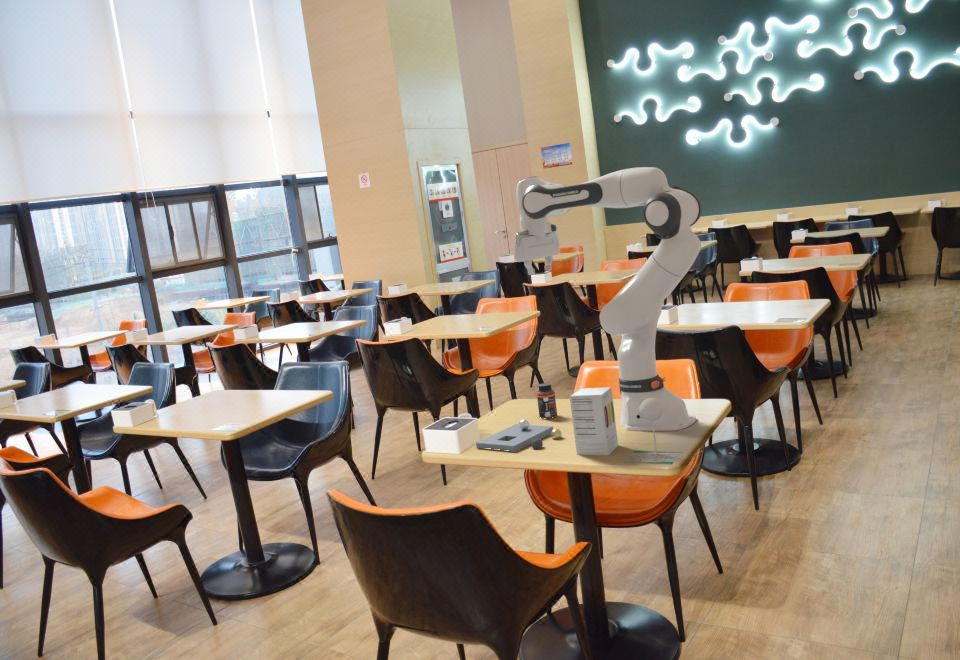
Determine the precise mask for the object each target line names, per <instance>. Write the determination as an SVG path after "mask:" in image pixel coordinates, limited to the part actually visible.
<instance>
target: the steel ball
mask: <svg viewBox="0 0 960 660" xmlns="http://www.w3.org/2000/svg"><path fill="white" fill-rule="evenodd" d="M518 424H519V427H520V429H522V430H526V429H528V428H529V425H530V422H529V421H528V420H527V419H521V420H520V421H519V423H518Z"/></svg>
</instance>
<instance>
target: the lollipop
mask: <svg viewBox="0 0 960 660" xmlns="http://www.w3.org/2000/svg"><path fill="white" fill-rule="evenodd" d="M639 411H640V413H641V415H642V417H643V418H644V419H646V420H648V421H652V428H653V431H652V437H653V444H654V445H653V447H654V453H655V455H657V454H658V448H657V441H656V439H657V438H656V431H655V430H654V421H655V420H657V419H659V418H660V417H661V415H662V413H663V406H662V404H661V403H660V402H659V401H658V400H657V399H654V398H648V399H646V400H644V401H643V402H642V403H641V405H640V408H639Z"/></svg>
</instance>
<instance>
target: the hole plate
mask: <svg viewBox="0 0 960 660" xmlns="http://www.w3.org/2000/svg"><path fill="white" fill-rule="evenodd" d="M552 430H554V426H552V425H549V426H548V425H535V424H529V428H528V429H526V430H522V429H520V427H519V423H518V424H517V423H515V424H513V425H511V426H509V427H507V428H505V429H502V430H499V432H496V433H494V434H492V435H490V436H488V437H485V438H484V439H481V440H479V441H478V442H476V443H475V445H476V449H477V448H491V449H500V450H509V451H517V450H519V449H521V448H523V447H525V448H527V447H529V446H531V445H532V441H533V440H534V439H541V440H543V439H544V437H545V438H547V437H549V436H551V435H550V434H551V432H552ZM548 435H549V436H548ZM546 436H547V437H546ZM542 438H543V439H542ZM530 444H531V445H530ZM528 445H529V446H528ZM526 446H527V447H526ZM523 449H524V448H523ZM521 450H522V449H521ZM519 451H520V450H519ZM517 452H518V451H517Z"/></svg>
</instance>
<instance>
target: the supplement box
mask: <svg viewBox="0 0 960 660" xmlns="http://www.w3.org/2000/svg"><path fill="white" fill-rule="evenodd" d="M613 396H614V395H613V390H612V387H610V386H609V387H608V386H607V387H585V388H579V389H578V390H577V391H575V392H574V393H573V394H571V395H570V396H569V401H570V402H569V403H570V410H571V418H572V426H573V435H574V442H575V451H576V455H578V456H610V454H611V453H613V452H614V451H615V450H616V449H617V447H618V446H619V442H618V433H617V423H616V414H615V408H614V397H613Z"/></svg>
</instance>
